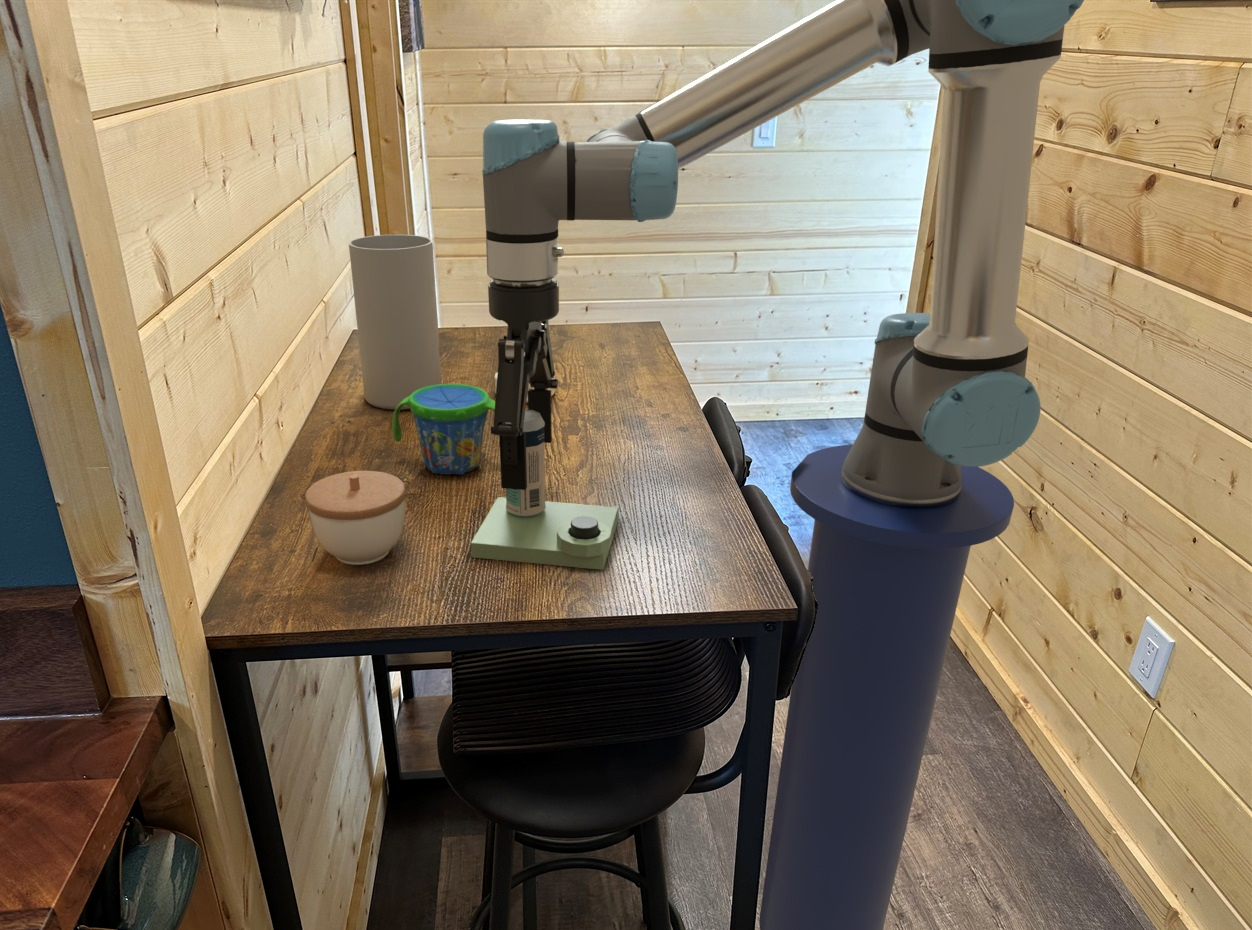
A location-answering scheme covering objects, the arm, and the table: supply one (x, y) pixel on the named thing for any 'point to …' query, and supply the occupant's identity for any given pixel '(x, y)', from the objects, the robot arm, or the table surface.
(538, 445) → the beer can
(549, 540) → the scale
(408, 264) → the cylinder vase
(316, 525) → the trinket box
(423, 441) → the snack cup
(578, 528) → the button
